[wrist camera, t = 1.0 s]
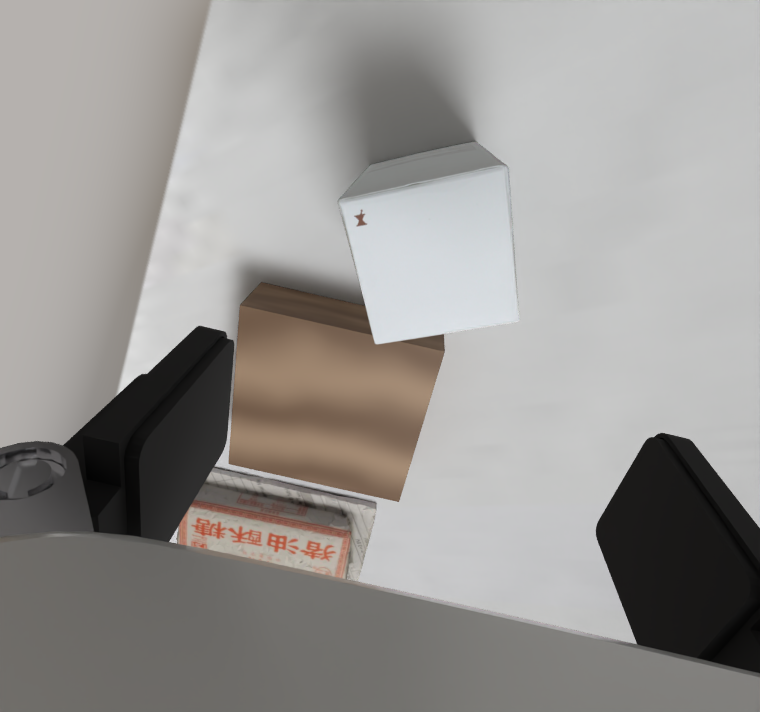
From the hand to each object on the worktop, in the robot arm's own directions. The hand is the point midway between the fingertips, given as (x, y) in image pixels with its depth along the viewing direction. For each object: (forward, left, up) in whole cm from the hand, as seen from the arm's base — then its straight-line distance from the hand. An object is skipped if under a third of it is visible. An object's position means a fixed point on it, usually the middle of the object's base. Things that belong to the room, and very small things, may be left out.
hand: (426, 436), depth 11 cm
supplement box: (0, 0, -25) cm, 25 cm away
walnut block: (+15, -4, -25) cm, 30 cm away
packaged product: (+32, -7, -26) cm, 42 cm away
